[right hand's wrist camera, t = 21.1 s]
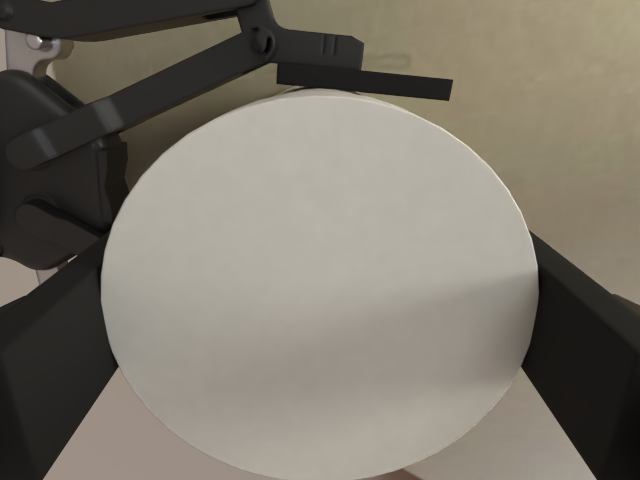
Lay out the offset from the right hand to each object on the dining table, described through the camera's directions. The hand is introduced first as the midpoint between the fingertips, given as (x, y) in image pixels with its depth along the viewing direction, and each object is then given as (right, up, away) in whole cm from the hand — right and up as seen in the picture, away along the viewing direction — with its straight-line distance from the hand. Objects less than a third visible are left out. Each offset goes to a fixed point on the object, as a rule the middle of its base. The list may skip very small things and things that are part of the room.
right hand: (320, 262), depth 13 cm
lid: (0, -1, -3) cm, 3 cm away
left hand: (+4, +2, +6) cm, 8 cm away
